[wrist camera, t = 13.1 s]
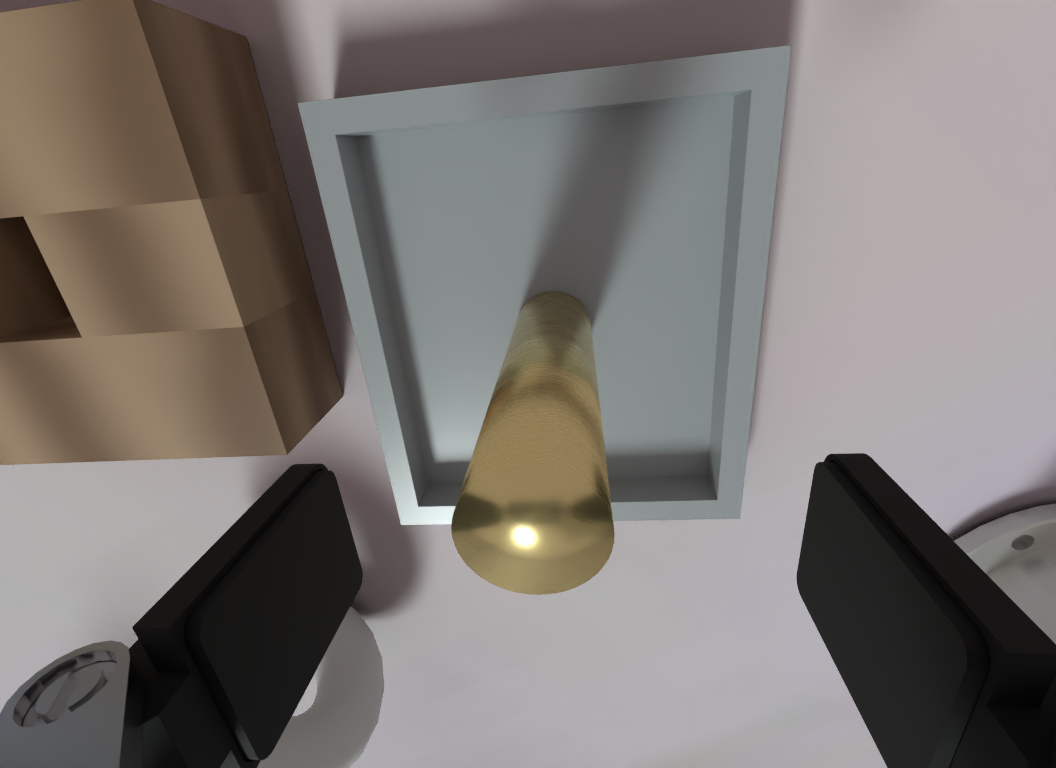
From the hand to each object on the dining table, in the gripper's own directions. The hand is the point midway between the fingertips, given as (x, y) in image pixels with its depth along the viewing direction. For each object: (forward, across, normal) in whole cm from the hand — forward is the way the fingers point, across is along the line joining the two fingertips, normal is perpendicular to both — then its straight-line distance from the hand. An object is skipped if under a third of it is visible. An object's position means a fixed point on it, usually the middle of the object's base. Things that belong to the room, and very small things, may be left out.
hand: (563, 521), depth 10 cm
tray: (+12, +1, -1) cm, 12 cm away
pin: (+11, +1, -1) cm, 11 cm away
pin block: (+12, +19, -5) cm, 23 cm away
